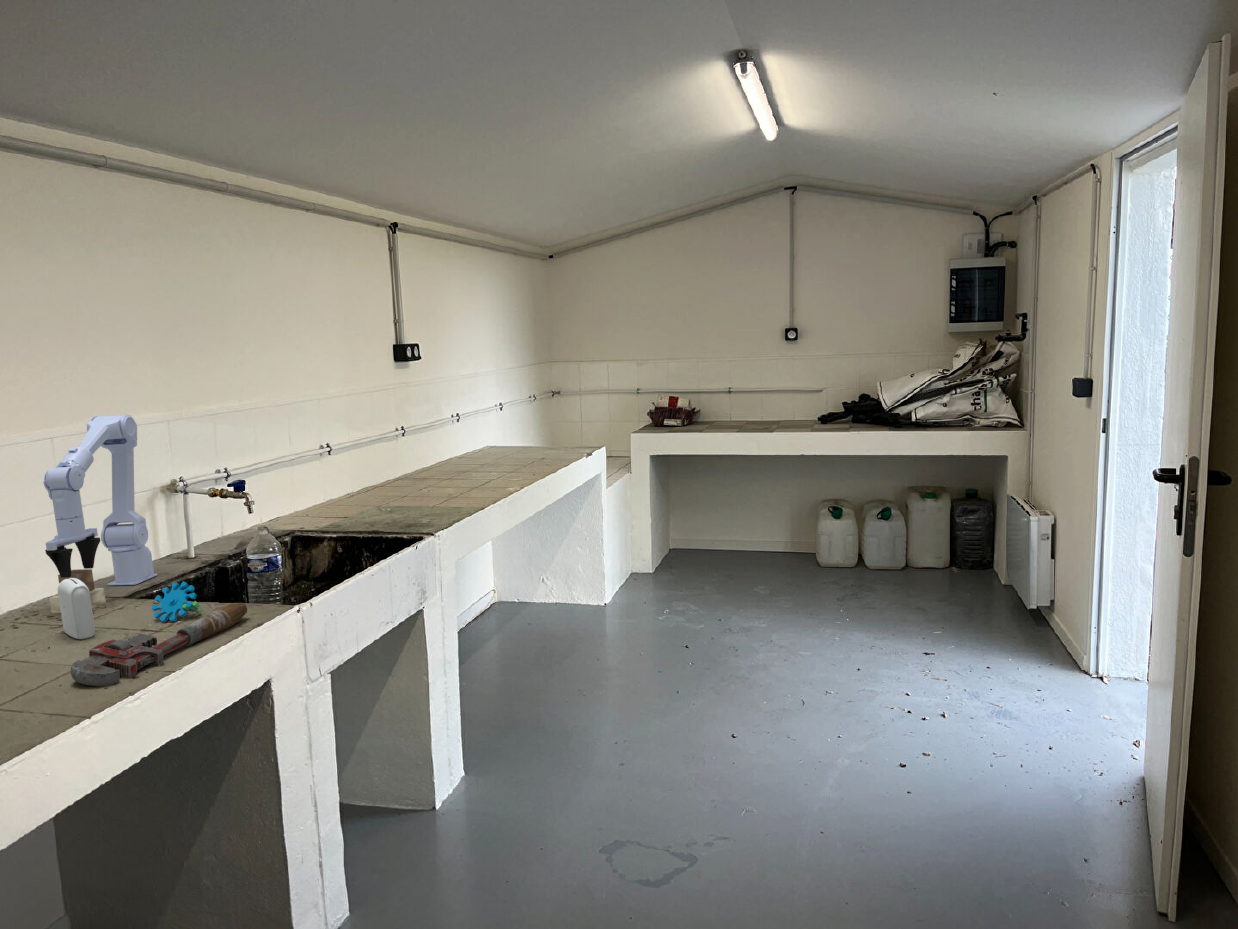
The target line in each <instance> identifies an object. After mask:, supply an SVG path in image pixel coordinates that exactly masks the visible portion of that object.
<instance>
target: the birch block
mask: <svg viewBox="0 0 1238 929" xmlns="http://www.w3.org/2000/svg"><path fill="white" fill-rule="evenodd" d="M89 593H90V600H91V606H92V609H94V608H97V607H100V606H102V605H104V604H106V601H107V600H106V595H105V589H104V587H101V588H99V587H98V588H97V587H95V589H94V590H92V591H89ZM48 600H49V606H50V612H51V614H61V610H60V603H59V597H58V594H56V595H53V596H51V597H49V598H48Z"/></svg>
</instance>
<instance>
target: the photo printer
mask: <svg viewBox="0 0 1238 929" xmlns="http://www.w3.org/2000/svg"><path fill="white" fill-rule="evenodd" d="M57 595H58V597H59V603H60V610H61V613H60V615H61V616H60V617H61V622H62V628H63V632H64V633H65V634H66V635H68V636H70V637H72V638H74V639H76V640H84V639H89V638H91V637H94V635H96V627H95V621H94V614H93V608H92V606H91V600H90V593H89V589H88V587H87V586H86V585H85V584H84V583H83V582H82V581H80V580H79V579H76V578H69V579H65V580H63V581H62V582H61V583H60V584H59V583H58V585H57Z"/></svg>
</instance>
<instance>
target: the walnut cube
mask: <svg viewBox="0 0 1238 929" xmlns="http://www.w3.org/2000/svg"><path fill="white" fill-rule="evenodd" d="M57 577H58V585H59V584H60V583H61V582H62V581H63V580H65V579H69V578H76V579H79V580H80V581H82V582H83V583H84V584H85V585H86V586H87V587H88V589H89V591H92V590H94V589H95V588H96V587H95V582H94V574H93V568H92V569H84V568H83V569H71V577H61V576H60V574H57Z"/></svg>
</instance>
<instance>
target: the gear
mask: <svg viewBox="0 0 1238 929" xmlns="http://www.w3.org/2000/svg"><path fill="white" fill-rule="evenodd" d="M194 591H195V587H194V586H193V585H192V584H191V585H189V584H188V583H187V582H186V581H182V582H181V584H179V583H178V582H172V583H171V589H170V588H168V587H164V588H162V590H161V592H162V593H163V594H164V596H163V597H162V595H159V594H157V595H156V596H155V598H154V601H155V602H157V603H160V605H157V603H156V604H155V603H154V604H153V605H152V606H151V610H152V611H154V613H153V617H154V618H155V619H156V620H158V619H159V620H160V621H161V622H162V623H166V622H167V621H168V619H169V621H170V622H176V621H177V620H178V614H179V616H180V617H181V618H184V617H185V616H187V615H188V613H189V612H191V613H196V614H197V615H198V616H200V615H199V614H201V615H203V612H201V611H200V610H199V608H200V606H201V604H200V603H199V602H197V601H196V599H197V596H198V595H197V594H196V593H195V592H194ZM188 592H190V593H188ZM187 593H188V594H187ZM189 598H190V599H191V600H194V601H188V599H189ZM159 610H161V611H159Z"/></svg>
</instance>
